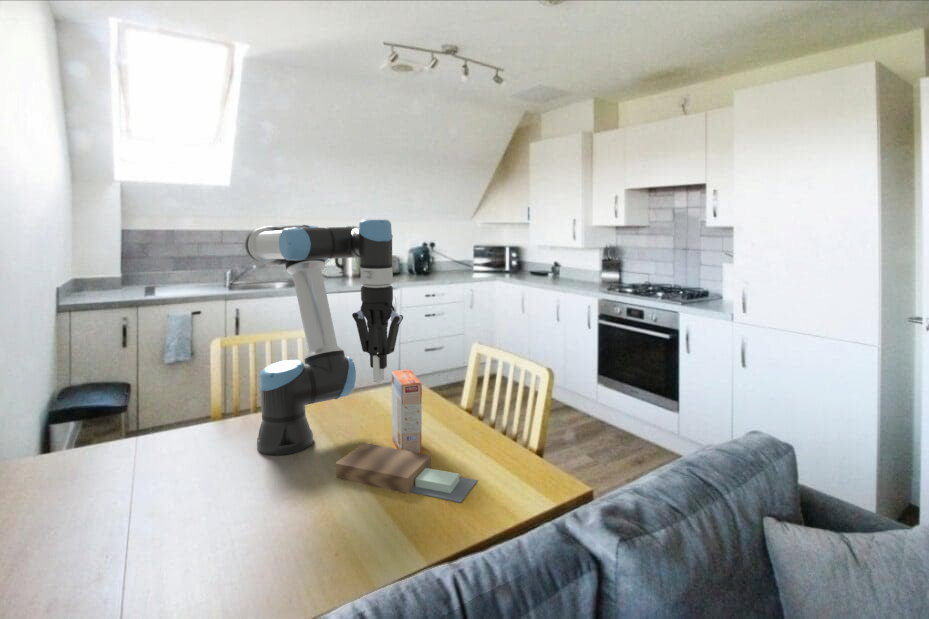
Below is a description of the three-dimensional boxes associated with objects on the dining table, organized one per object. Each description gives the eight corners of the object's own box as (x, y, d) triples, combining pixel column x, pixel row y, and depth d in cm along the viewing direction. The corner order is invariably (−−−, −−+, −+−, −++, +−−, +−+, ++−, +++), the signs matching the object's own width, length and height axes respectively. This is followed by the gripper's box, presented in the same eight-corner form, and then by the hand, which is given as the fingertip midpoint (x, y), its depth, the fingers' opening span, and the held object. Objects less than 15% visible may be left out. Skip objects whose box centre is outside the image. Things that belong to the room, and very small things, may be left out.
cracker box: (423, 456, 145) (422, 382, 141) (401, 459, 143) (400, 384, 139) (412, 436, 158) (411, 368, 154) (391, 439, 156) (390, 369, 152)
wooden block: (335, 478, 133) (335, 463, 132) (364, 456, 144) (363, 442, 144) (407, 494, 125) (407, 478, 125) (431, 469, 137) (431, 455, 137)
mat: (409, 492, 126) (409, 490, 126) (429, 471, 136) (429, 470, 136) (460, 503, 122) (460, 501, 121) (477, 481, 132) (477, 479, 132)
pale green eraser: (415, 486, 128) (415, 478, 128) (425, 475, 134) (425, 467, 133) (450, 493, 125) (450, 485, 125) (459, 481, 131) (459, 473, 130)
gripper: (344, 285, 126) (347, 381, 130) (393, 288, 121) (394, 388, 125) (361, 282, 133) (364, 373, 137) (408, 284, 128) (409, 379, 132)
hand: (378, 380), depth 131 cm, fingers closed
